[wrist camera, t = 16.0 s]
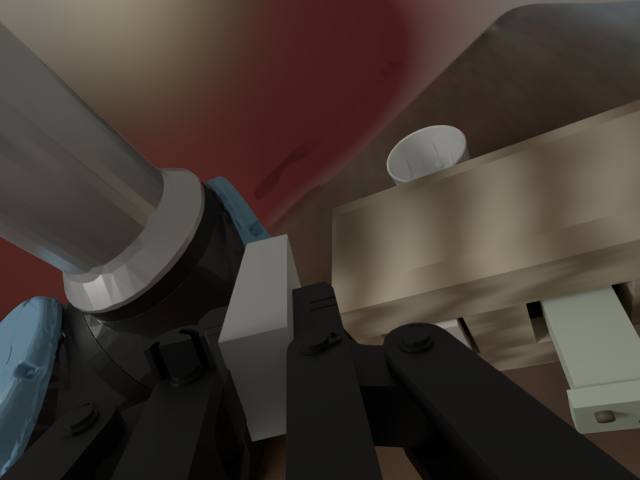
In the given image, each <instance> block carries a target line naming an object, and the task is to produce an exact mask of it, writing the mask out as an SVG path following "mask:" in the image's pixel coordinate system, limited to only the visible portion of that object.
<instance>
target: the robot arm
mask: <svg viewBox="0 0 640 480" xmlns="http://www.w3.org/2000/svg"><path fill="white" fill-rule="evenodd" d="M0 236H1V237H3V238H5V239H6V240H8V241H10V242H12V243H14V244H15V245H17V246H19V247H21V248H22V249H24V250H26V251H28V252H30V253H32V254H33V255H35V256H37V257H39V258H41V259H42V260H44V261H46V262H48V263H50V264H51V265H53V266H55V267H57V268H58V269H60V270H62V271H63V278H64V287H65V293H66V296H67V298H68V300H69V302H68V303H67V304H65V305H62V304H61V303H60V302H59V300H57V299H56V298H47V297H44V296H37V297H34V298H32V299H29V300H26V301H24V302H23V303H21V304H20V305H19V306H17V307H16V308H15V309H14V310H13V311H12V312H11V313H9V314H8V315H7V316H6V317H5V319H4V320H3V321H2V322H1V323H0V480H254V478H255V476H256V473H257V470H258V467H259V464H260V460H261V455H262V450H263V442H264V439H265V438H269V437H274V436H278V435H282V434H286V480H383V478H382V474H381V470H380V467H379V463H378V459H377V455H376V451H375V447H374V446H387V447H403V448H404V451H405V453H406V456H407V457H408V459H409V460H410V462H411V463H412V465H413V466H414V467H415V469H416V470H417V472H418V473H419V475H420V476H421V478H422V479H423V480H640V479H639V478H638V477H636V476H635V475H634V474H632V473H631V472H630V471H629V470H627V469H626V468H625V467H623V466H622V465H621V464H619V463H618V462H617V461H616V460H614V459H613V458H612V457H610V456H609V455H608V454H606V453H605V452H604V451H603V450H601V449H600V448H599V447H597V446H596V445H595V444H593V443H592V442H591V441H590V440H588V439H587V438H586V437H584V436H583V435H582V434H580V433H579V432H578V431H576V430H575V429H574V428H573V427H571V426H570V425H569V424H567V423H566V422H565V421H563V420H562V419H561V418H560V417H558V416H557V415H556V414H554V413H553V412H552V411H550V410H549V409H548V408H547V407H545V406H544V405H543V404H541V403H540V402H539V401H537V400H536V399H535V398H534V397H532V396H531V395H530V394H528V393H527V392H526V391H524V390H523V389H522V388H521V387H519V386H518V385H517V384H515V383H514V382H513V381H511V380H510V379H509V378H508V377H506V376H505V375H504V374H502V373H501V372H500V371H498V370H497V369H496V368H495V367H493V366H492V365H491V364H489V363H488V362H487V361H485V360H484V359H483V358H482V357H480V356H479V355H478V354H476V353H475V352H474V351H472V350H471V349H470V348H468V347H467V346H466V345H465V344H463V343H462V342H461V341H459V340H458V339H457V338H455V337H454V336H453V335H452V334H450V333H449V332H448V331H446V330H445V329H443V328H441V327H439V326H437V325H435V324H429V323H424V322H423V323H421V322H417V323H409V324H406V325H402V326H399V327H397V328H395V329H393V330H392V331H390V332H389V333H388V334H387V336H386V337H385V338H384V342H383V345H364V344H359V343H356V342H354V341H352V340H351V339H349V338H348V337H347V335H346V333H345V331H344V327H343V323H342V320H341V316H340V312H339V308H338V304H337V300H336V296H335V292H334V288H333V287H332V286H330V285H329V284H327V283H326V282H322V283H318V284H313V285H309V286H305V287H301V286H300V282H299V279H298V275H297V271H296V267H295V263H294V259H293V256H292V252H291V248H290V244H289V240H288V236H287V234H286V235H282V236H277V237H273V238H271V236H270V235H269V233H268V232H267V231H266V230H265V228H263V227H262V226H261V223H260V221H259V220H258V219H257V218H256V216H255V214H254V213H253V211H252V210H251V209H250V207H249V206H248V205H247V203H246V202H245V201H244V199H243V198H242V197H241V195H240V194H239V193H238V192H237V191H236V189H235V188H234V187H233V186H232V185H231V184H230V182H229V181H228V180H226V179H225V178H224V177H217V178H215V179H213V180H210V181H209V180H208V181H207V182H206V184H205V185H204V184H203V183H202V181H201V180H200V179H199V178H198V177H197V176H196V175H194V174H193V173H191V172H190V171H188V170H185V169H181V168H167V169H157V168H155V167H154V166H153V165H152V164H151V163H150V162H149V161H148V160H147V159H146V158H145V157H144V156H143V155H142V154H141V153H139V152H138V151H137V150H136V149H135V148H134V147H133V146H132V145H131V144H130V143H129V142H128V141H127V140H126V139H125V138H124V137H123V136H121V135H120V134H119V133H118V132H117V131H116V130H115V129H114V128H113V127H112V126H111V125H110V124H109V123H108V122H107V121H106V120H104V119H103V118H102V117H101V116H100V115H99V114H98V113H97V112H96V111H95V110H94V109H93V108H92V107H91V106H90V105H89V104H87V102H85V101H84V100H83V99H82V98H81V97H80V96H79V95H78V94H77V93H76V92H75V91H74V90H73V89H72V88H70V86H68V85H67V84H66V83H65V82H64V81H63V80H62V79H61V78H60V77H59V76H58V75H57V74H56V73H54V71H52V70H51V69H50V68H49V67H48V66H47V65H46V64H45V63H44V62H43V61H42V60H41V59H40V58H39V57H38V56H36V54H34V53H33V52H32V51H31V50H30V49H29V48H28V47H27V46H26V45H25V44H24V43H23V42H22V41H21V40H20V39H19V38H18V37H16V36H15V35H14V34H13V33H12V32H11V31H10V30H9V29H8V28H7V27H6V26H5V25H4V24H3V23H1V21H0Z"/></svg>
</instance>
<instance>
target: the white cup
mask: <svg viewBox="0 0 640 480" xmlns="http://www.w3.org/2000/svg"><path fill="white" fill-rule="evenodd" d="M468 160H471V159H470V155H469V151H468V146H467V142H466V138H465V136H464V134H463V133H462V132H461V131H460V130H459V129H457V128H455V127H452V126H446V125H437V126H431V127H427V128H423V129H420V130H418V131H416V132H414V133H412V134H410V135H408V136H407V137H405V138H404V139H403V140H401V141H400V142H399V143H398V144H397V145H396V146H395V147H394V148H393V150H392V151H391V153H390V155H389V157H388V160H387V170H388V172H389V174H390V176H391V177H392V179H393V181H394V183H395V184H396V186H398V185H401V184H404V183H407V182H409V181H412V180H415V179H418V178H421V177H423V176H426V175H429V174H432V173H435V172H437V171H440V170H443V169H446V168H449V167H452V166H454V165H457V164H460V163H463V162H466V161H468Z"/></svg>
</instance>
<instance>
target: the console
mask: <svg viewBox="0 0 640 480" xmlns="http://www.w3.org/2000/svg"><path fill="white" fill-rule="evenodd" d="M614 284H618V299H619V301H620V303H621V305H622V307H623V309H624V310H625V312H626V314H627V316H628V318H629V320H630V322H631V323H632V325H633V327H634V329H635V331H636V333H637V334H638V336H639V338H640V100H637V101H634V102H631V103H629V104H626V105H623V106H620V107H617V108H614V109H612V110H609V111H606V112H603V113H600V114H598V115H595V116H592V117H589V118H586V119H584V120H581V121H578V122H575V123H572V124H570V125H567V126H564V127H561V128H558V129H555V130H553V131H550V132H547V133H544V134H541V135H539V136H536V137H533V138H530V139H527V140H525V141H522V142H519V143H516V144H513V145H511V146H508V147H505V148H502V149H499V150H496V151H494V152H491V153H488V154H485V155H482V156H480V157H477V158H474V159H471V160H468V161H466V162H463V163H460V164H457V165H454V166H452V167H449V168H446V169H443V170H440V171H437V172H435V173H432V174H429V175H426V176H423V177H421V178H418V179H415V180H412V181H409V182H407V183H404V184H401V185H398V186H395V187H393V188H390V189H387V190H384V191H381V192H378V193H376V194H373V195H370V196H367V197H364V198H362V199H359V200H356V201H353V202H350V203H348V204H345V205H342V206H339V207H336V208H334V209H333V224H332V287H333V288H334V292H335V296H336V300H337V304H338V308H339V312H340V316H341V320H342V323H343V327H344V329H345V330H346V331H347V332H348V333H349V334H350V335H351V336H352V337H353V339H354V340H355V341H356V342H357V343H359V344H364V345H383V342H384V338H385V337H386V336H387V334H388V333H389V332H390V331H392V330H393V329H395V328H397V327H399V326H402V325H406V324H409V323H417V322H421V323H423V322H424V323H429V324H433V323H438V322H443V321H447V320H452V319H456V318H461V317H463V319H464V321H465V323H466V325H467V327H468V328H469V330H470V331H468V332H465V333H466V335H467V336H468V338H469V340H470V342H471V345H472V350H473V351H474V352H475V353H476V354H478V355H479V356H480V357H482V358H483V359H484V360H485V361H487V362H488V363H489V364H491V365H492V366H493V367H495V368H496V369H497V370H498V371H504V370H510V369H516V368H522V367H528V366H535V365H541V364H547V363H553V362H559V361H560V359H559V357H558V354H557V351H556V349H555V346H554V344H553V341H552V338H551V336H550V333H549V331H548V328H547V325H546V323H545V320H544V317H543V316H542V317H538V318H533V319H530V318H529V314H528V310H527V307H526V303H530V302H535V301H540V300H544V299H549V298H554V297H558V296H563V295H567V294H572V293H577V292H581V291H586V290H591V289H595V288H600V287H604V286H609V285H614Z"/></svg>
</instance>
